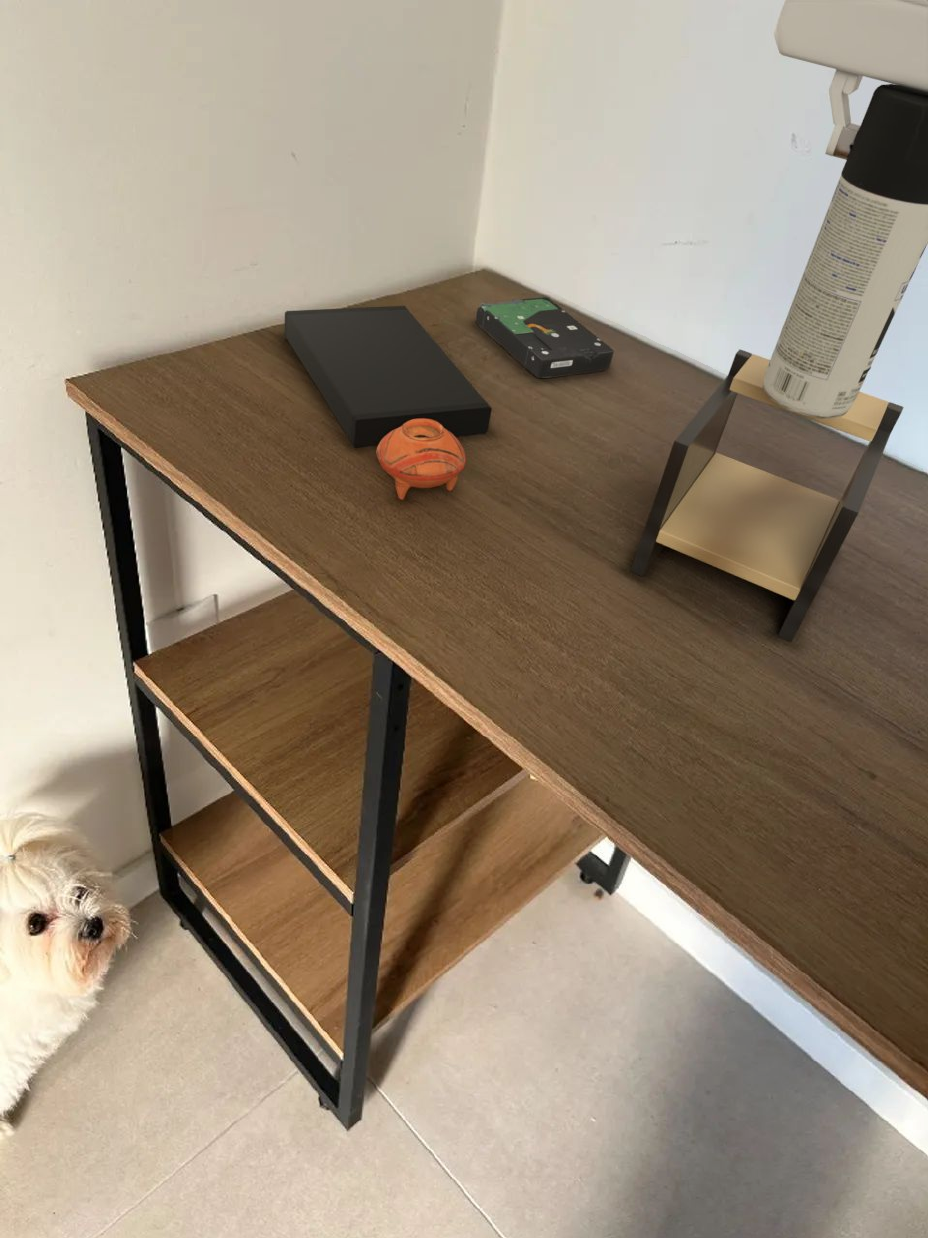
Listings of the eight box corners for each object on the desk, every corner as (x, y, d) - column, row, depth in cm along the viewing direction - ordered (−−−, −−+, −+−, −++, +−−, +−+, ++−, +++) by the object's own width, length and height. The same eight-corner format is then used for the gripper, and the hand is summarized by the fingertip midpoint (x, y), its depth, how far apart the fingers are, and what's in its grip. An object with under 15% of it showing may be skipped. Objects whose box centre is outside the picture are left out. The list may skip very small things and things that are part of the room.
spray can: (861, 427, 66) (1009, 120, 53) (769, 414, 66) (896, 101, 53) (835, 383, 71) (964, 93, 58) (749, 371, 71) (861, 75, 58)
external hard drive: (353, 447, 88) (355, 419, 86) (284, 336, 103) (284, 310, 101) (487, 433, 94) (492, 406, 92) (403, 329, 109) (405, 305, 107)
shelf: (831, 549, 87) (903, 406, 77) (791, 642, 76) (870, 489, 66) (687, 491, 91) (739, 348, 81) (629, 571, 80) (681, 417, 70)
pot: (444, 521, 81) (436, 451, 77) (367, 507, 84) (355, 438, 80) (483, 478, 86) (478, 410, 82) (410, 466, 90) (401, 400, 85)
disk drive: (610, 372, 109) (542, 315, 117) (616, 350, 107) (547, 294, 116) (537, 382, 104) (472, 322, 113) (542, 359, 102) (476, 300, 111)
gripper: (814, -143, 50) (729, 136, 59) (1233, -62, 44) (1067, 233, 53) (837, -138, 54) (754, 121, 63) (1220, -64, 49) (1069, 209, 58)
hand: (900, 173), depth 58 cm, fingers closed on spray can, 6 cm apart
